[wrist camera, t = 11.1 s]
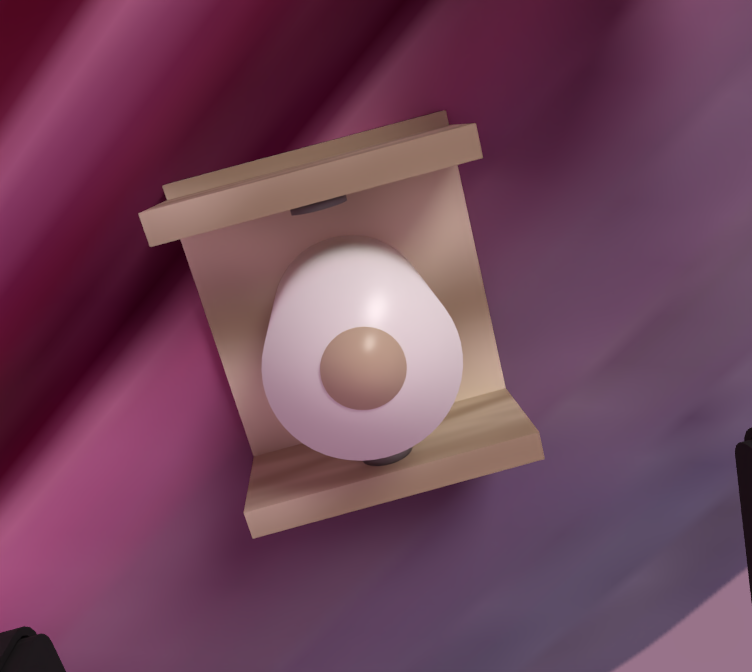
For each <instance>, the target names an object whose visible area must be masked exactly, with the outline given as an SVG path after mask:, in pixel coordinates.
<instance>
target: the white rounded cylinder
mask: <svg viewBox="0 0 752 672" xmlns="http://www.w3.org/2000/svg"><path fill="white" fill-rule="evenodd" d="M261 370H262V380H263V386H264V390H265V394H266V397H267V399H268V402H269V404H270V407H271V408H272V410H273V412H274V414H275V415H276V417H277V418H278V420H279V421H280V422H281V424H282V425H283V426H284V428H285V429H286V430H287V431H288V432H289V433H290V434H291V435H292V436H294V437H295V438H296V439H298V440H299V441H300V442H301V443H303V444H304V445H306V446H308V447H310V448H311V449H313V450H315V451H317V452H320V453H322V454H324V455H328V456H331V457H335V458H339V459H345V460H357V461H365V460H376V459H381V458H385V457H389V456H392V455H395V454H398V453H401V452H403V451H405V450H407V449H409V448H411V447H413V446H414V445H416V444H418V443H419V442H421V441H422V440H423V439H425V438H426V437H427V436H428V435H430V434H431V433H432V432H433V431H434V430H435V429H436V428H437V427H438V426H439V425H440V423H441V422H442V421H443V419H444V418H445V417H446V415H447V414H448V412H449V411H450V409H451V407H452V405H453V403H454V401H455V399H456V396H457V394H458V391H459V387H460V383H461V379H462V371H463V353H462V347H461V341H460V338H459V335H458V331H457V329H456V327H455V324H454V322H453V320H452V318H451V317H450V315H449V313H448V312H447V310H446V309H445V307H444V306H443V305H442V303H441V302H440V301H439V299H438V298H437V297H436V296H435V294H434V293H433V292H432V290H431V289H430V288H429V286H428V285H427V284H426V282H425V281H424V280H423V278H422V277H421V276H420V275H419V273H418V272H417V271H416V269H415V268H414V267H413V265H412V264H411V263H410V262H409V261H408V260H407V258H406V257H405V256H403V255H402V254H401V253H400V252H399V251H397V250H396V249H395V248H393V247H392V246H390V245H388V244H386V243H384V242H382V241H379V240H376V239H373V238H370V237H365V236H356V235H347V236H338V237H333V238H329V239H326V240H323V241H321V242H318V243H316V244H314V245H312V246H311V247H309V248H308V249H306V250H305V251H303V252H302V253H301V254H300V255H299V256H298V257H296V258H295V260H294V261H293V262H292V263H291V264H290V265H289V267H288V268H287V270H286V271H285V273H284V274H283V276H282V278H281V280H280V282H279V285H278V288H277V291H276V295H275V299H274V304H273V308H272V312H271V317H270V321H269V326H268V330H267V334H266V339H265V343H264V348H263V354H262V369H261Z"/></svg>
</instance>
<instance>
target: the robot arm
mask: <svg viewBox="0 0 752 672" xmlns="http://www.w3.org/2000/svg"><path fill="white" fill-rule="evenodd" d="M735 458H736V467H737V476H738V485H739V494H740V503H741V512H742V521H743V529H744V538H745V547H746V556H747V565H748V573H749V583H750V592H751V601H752V428H749V429H748V430H747V431H746V434H745V437H744V442H740V443H738V444H737V445H736V448H735ZM0 672H66V671H65V669H64V667H63V664H62V662H61V660H60V658H59V656H58V654H57V652H56V650H55V648H54V646H53V644H52V642H51V640H50V639H49V637H48V636H46V635H45V634H38V635H37V634H36V632H35V631H34V630H33V629H31V628H30V627H25V626H24V627H20V628H17V629H13V630H9V631H6V632H2V633H0Z"/></svg>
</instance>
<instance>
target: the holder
mask: <svg viewBox="0 0 752 672" xmlns="http://www.w3.org/2000/svg"><path fill="white" fill-rule="evenodd" d="M481 158H483V155H482V151H481V146H480V141H479V136H478V131H477V126H476V123H471V124H455V125H449V123H448V118H447V114H446V110H444V111H439V112H435V113H432V114H428V115H424V116H420V117H417V118H413V119H409V120H405V121H402V122H398V123H394V124H390V125H387V126H383V127H379V128H375V129H372V130H368V131H364V132H361V133H357V134H353V135H349V136H346V137H342V138H338V139H334V140H331V141H327V142H323V143H319V144H316V145H312V146H308V147H304V148H301V149H297V150H293V151H289V152H286V153H282V154H278V155H274V156H271V157H267V158H263V159H259V160H256V161H252V162H248V163H244V164H241V165H237V166H233V167H229V168H226V169H222V170H218V171H215V172H211V173H207V174H203V175H200V176H196V177H192V178H188V179H185V180H181V181H177V182H173V183H170V184H166V185H163V186H162V187H163V190H164V193H165V196H166V198H167V201H164V202H162V203H160V204H158V205H156V206H154V207H151V208H149V209H147V210H145V211H143V212H140V213H138V214H139V217H140V220H141V223H142V226H143V228H144V231H145V234H146V237H147V240H148V243H149V246H150V247H153V246H156V245H160V244H164V243H168V242H171V241H175V240H179V239H180V240H181V243H182V246H183V249H184V252H185V255H186V258H187V261H188V264H189V267H190V269H191V272H192V275H193V278H194V281H195V284H196V287H197V290H198V293H199V296H200V299H201V302H202V305H203V308H204V311H205V314H206V317H207V320H208V323H209V326H210V329H211V332H212V335H213V338H214V341H215V343H216V346H217V349H218V352H219V355H220V358H221V361H222V364H223V367H224V370H225V373H226V376H227V379H228V382H229V385H230V388H231V391H232V394H233V397H234V400H235V403H236V406H237V409H238V412H239V414H240V417H241V420H242V423H243V426H244V429H245V432H246V435H247V438H248V441H249V444H250V447H251V450H252V453H253V456H254V458H253V464H252V469H251V475H250V480H249V486H248V491H247V497H246V502H245V508H244V516H245V518H246V521H247V524H248V527H249V530H250V533H251V535H252V538H253V539H254V538H258V537H261V536H265V535H269V534H272V533H276V532H279V531H283V530H287V529H290V528H294V527H298V526H301V525H305V524H309V523H312V522H316V521H320V520H323V519H327V518H331V517H334V516H338V515H342V514H345V513H349V512H353V511H356V510H360V509H363V508H367V507H371V506H374V505H378V504H382V503H385V502H389V501H393V500H396V499H400V498H404V497H407V496H411V495H415V494H418V493H422V492H426V491H429V490H433V489H437V488H440V487H444V486H447V485H451V484H455V483H458V482H462V481H466V480H469V479H473V478H477V477H480V476H484V475H488V474H491V473H495V472H499V471H502V470H506V469H510V468H513V467H517V466H521V465H524V464H528V463H531V462H535V461H539V460H542V459H544V454H543V449H542V444H541V439H540V434H539V431H538V430H537V429H536V427H535V426H534V425H533V424H532V422H531V421H530V420H529V418H528V417H527V416H526V414H525V413H524V412H523V410H522V409H521V408H520V406H519V405H518V404H517V402H516V401H515V400H514V399H513V397H512V396H511V395H510V393H509V392H508V391H507V389H506V388H505V383H504V379H503V374H502V369H501V365H500V360H499V355H498V351H497V346H496V341H495V337H494V332H493V327H492V323H491V318H490V313H489V309H488V304H487V300H486V295H485V290H484V286H483V281H482V276H481V272H480V267H479V262H478V258H477V253H476V248H475V244H474V239H473V235H472V230H471V225H470V221H469V216H468V211H467V207H466V202H465V197H464V193H463V188H462V183H461V179H460V174H459V169H458V165H459V164H462V163H466V162H470V161H473V160H477V159H481ZM347 235H356V236H365V237H370V238H373V239H376V240H379V241H382V242H384V243H386V244H388V245H390V246H392V247H393V248H395V249H396V250H397V251H399V252H400V253H401V254H402V255H403V256H405V257H406V258H407V260H408V261H409V262H410V263H411V264H412V265H413V267H414V268H415V269H416V271H417V272H418V273H419V275H420V276H421V277H422V278H423V280H424V281H425V282H426V284H427V285H428V286H429V288H430V289H431V290H432V292H433V293H434V294H435V296H436V297H437V298H438V299H439V301H440V302H441V303H442V305H443V306H444V307H445V309H446V310H447V312H448V313H449V315H450V317H451V318H452V320H453V322H454V324H455V327H456V329H457V331H458V335H459V338H460V341H461V347H462V353H463V371H462V379H461V383H460V387H459V391H458V394H457V396H456V399H455V401H454V403H453V405H452V407H451V409H450V411H449V412H448V414H447V415H446V417H445V418H444V419H443V421H442V422H441V423H440V425H439V426H438V427H437V428H436V429H435V430H434V431H433V432H432V433H431V434H430V435H428V436H427V437H426V438H425V439H423V440H422V441H421V442H419V443H418V444H416V445H414V446H413V447H411V448H409V449H407V450H405V451H403V452H401V453H398V454H395V455H392V456H389V457H385V458H381V459H376V460H365V461H357V460H345V459H339V458H335V457H331V456H328V455H324V454H322V453H320V452H317V451H315V450H313V449H311V448H310V447H308V446H306V445H304V444H303V443H301V442H300V441H299V440H298V439H296V438H295V437H294V436H292V435H291V434H290V433H289V432H288V431H287V430H286V429H285V428H284V426H283V425H282V424H281V422H280V421H279V420H278V418H277V417H276V415H275V414H274V412H273V410H272V408H271V407H270V404H269V402H268V399H267V397H266V394H265V390H264V386H263V380H262V370H261V369H262V354H263V348H264V343H265V339H266V334H267V330H268V326H269V321H270V317H271V312H272V308H273V304H274V299H275V295H276V291H277V288H278V285H279V282H280V280H281V278H282V276H283V274H284V273H285V271H286V270H287V268H288V267H289V265H290V264H291V263H292V262H293V261H294V260H295V258H296V257H298V256H299V255H300V254H301V253H302V252H303V251H305V250H306V249H308V248H309V247H311V246H312V245H314V244H316V243H318V242H321V241H323V240H326V239H329V238H333V237H338V236H347Z"/></svg>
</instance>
